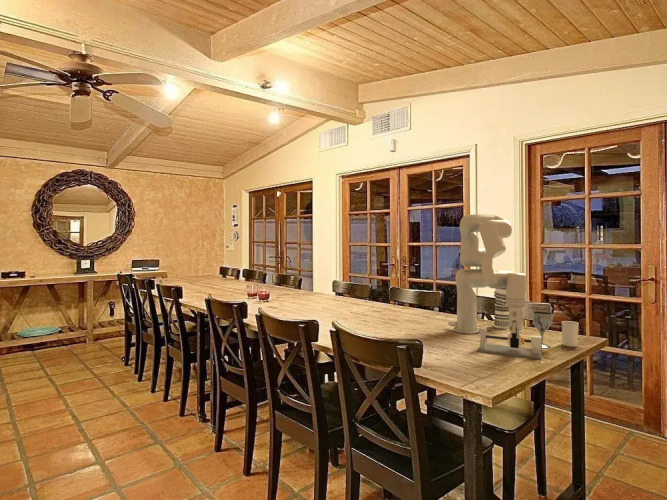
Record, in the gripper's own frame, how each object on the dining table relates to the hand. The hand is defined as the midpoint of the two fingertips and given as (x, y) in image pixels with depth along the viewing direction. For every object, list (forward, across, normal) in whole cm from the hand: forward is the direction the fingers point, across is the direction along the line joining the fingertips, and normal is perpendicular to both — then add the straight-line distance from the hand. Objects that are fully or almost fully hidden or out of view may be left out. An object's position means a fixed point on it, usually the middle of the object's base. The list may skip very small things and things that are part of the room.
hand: (514, 346), depth 181 cm
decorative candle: (+3, +52, +10) cm, 53 cm away
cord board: (+3, 0, +2) cm, 3 cm away
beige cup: (+3, +26, -20) cm, 33 cm away
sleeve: (-1, 0, 0) cm, 1 cm away
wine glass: (+3, +17, -10) cm, 20 cm away
